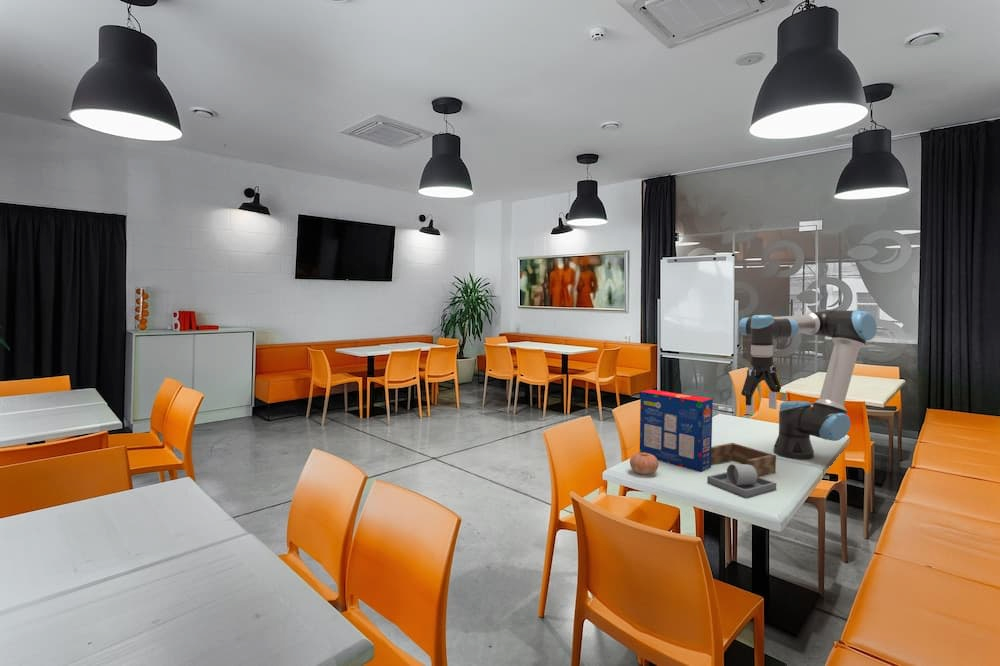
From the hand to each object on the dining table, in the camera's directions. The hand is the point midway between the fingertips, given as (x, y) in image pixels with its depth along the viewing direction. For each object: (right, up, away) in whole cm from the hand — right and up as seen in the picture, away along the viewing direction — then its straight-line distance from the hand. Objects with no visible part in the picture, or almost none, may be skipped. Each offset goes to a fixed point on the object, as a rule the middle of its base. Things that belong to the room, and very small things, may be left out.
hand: (761, 411), depth 194 cm
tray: (-13, -26, -11) cm, 31 cm away
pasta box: (-28, -24, +18) cm, 40 cm away
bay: (-4, -24, +8) cm, 26 cm away
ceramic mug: (-13, -25, -10) cm, 30 cm away
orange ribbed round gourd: (-44, -25, +4) cm, 51 cm away
